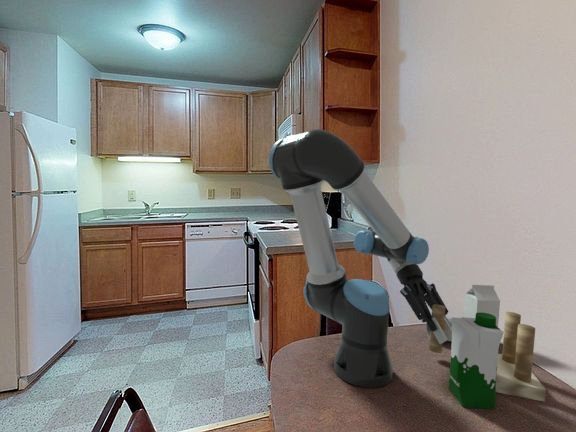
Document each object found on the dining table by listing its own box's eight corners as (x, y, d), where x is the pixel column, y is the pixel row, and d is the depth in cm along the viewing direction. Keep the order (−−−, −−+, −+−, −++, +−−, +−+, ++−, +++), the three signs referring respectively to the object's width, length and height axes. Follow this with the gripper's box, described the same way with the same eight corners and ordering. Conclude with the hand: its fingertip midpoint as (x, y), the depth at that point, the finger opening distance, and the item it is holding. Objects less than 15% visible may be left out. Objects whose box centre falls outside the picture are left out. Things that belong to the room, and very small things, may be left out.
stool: (467, 386, 79) (472, 324, 78) (455, 356, 94) (459, 303, 93) (544, 401, 74) (550, 335, 73) (518, 367, 89) (523, 311, 88)
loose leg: (429, 351, 91) (433, 307, 90) (428, 346, 94) (431, 303, 93) (442, 353, 90) (446, 309, 89) (441, 348, 93) (444, 305, 92)
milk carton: (496, 346, 101) (501, 288, 100) (474, 346, 101) (478, 287, 100) (483, 337, 108) (487, 282, 107) (462, 336, 108) (466, 281, 107)
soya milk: (502, 412, 70) (509, 323, 68) (460, 410, 70) (466, 321, 69) (479, 388, 78) (485, 309, 77) (442, 386, 79) (447, 307, 77)
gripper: (416, 273, 108) (458, 341, 95) (380, 277, 101) (419, 350, 87) (431, 261, 103) (477, 330, 90) (394, 263, 96) (437, 340, 82)
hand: (448, 340), depth 88 cm, fingers closed on loose leg, 3 cm apart
